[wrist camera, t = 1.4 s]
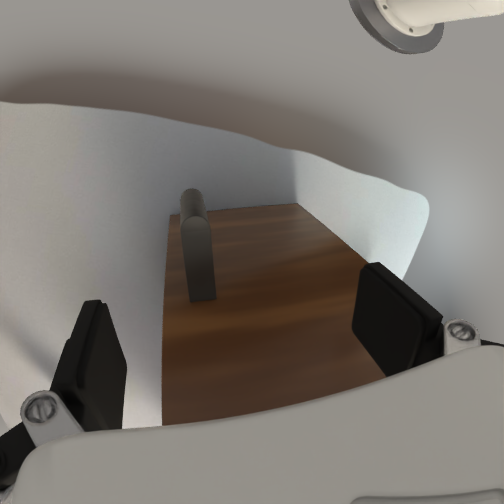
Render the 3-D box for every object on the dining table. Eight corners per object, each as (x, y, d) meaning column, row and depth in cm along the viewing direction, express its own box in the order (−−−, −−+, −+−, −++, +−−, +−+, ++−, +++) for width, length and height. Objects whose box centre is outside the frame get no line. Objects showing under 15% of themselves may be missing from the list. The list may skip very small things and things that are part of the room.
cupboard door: (165, 167, 39) (111, 388, 7) (298, 158, 42) (535, 285, 11) (170, 222, 42) (170, 491, 10) (297, 209, 45) (484, 392, 14)
